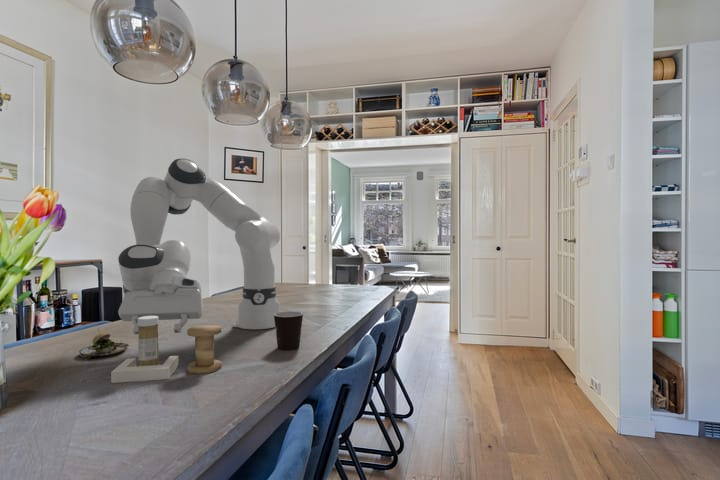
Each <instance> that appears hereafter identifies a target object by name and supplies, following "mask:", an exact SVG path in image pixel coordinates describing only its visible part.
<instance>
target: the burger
mask: <svg viewBox="0 0 720 480" xmlns="http://www.w3.org/2000/svg"><path fill="white" fill-rule="evenodd" d="M97 331H98V334H96V335H95V336H94V338H93V339H92V345H89V346H86V347H84V348H81V349H80V350H79V351H78V353H79V354H80V355H78V358H79V359H80V360H86V361H87V360H89V361H90V360H91V358H92V357H103V356H104V357H105V356H111V355H115V354H118V353H121V352H122V351H124V350H127V349H128V347H130V345H129V344H128V343H125V342H124V343H123V342H115V341H113V340H111V338H110V337H111V334H110V333H109V332H99V331H100V330H99V329H97Z"/></svg>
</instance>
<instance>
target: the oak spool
mask: <svg viewBox="0 0 720 480" xmlns="http://www.w3.org/2000/svg"><path fill="white" fill-rule="evenodd" d="M186 332H187V336H189V337H194V339H195V340H194V343H195V344H194V345H195V346H194V347H195V348H194V350H195V351H194V352H195V353H194V354H195V355H194V358H195V359H194V361H192V362H190V363H189V364H188V365H187V373H190V374H194V375H203V374H204V375H205V374H211V373H214V372H216V371H219V370H220V369H222V366H223V365H222V364H223V363H222V361H221V360H218V359H215V336H216V335H218V334H221V333H222V326H221V325H215V324H214V325H213V324H206V325H204V324H203V325H196V326H192V327H190V328H188V329H187V331H186Z"/></svg>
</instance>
